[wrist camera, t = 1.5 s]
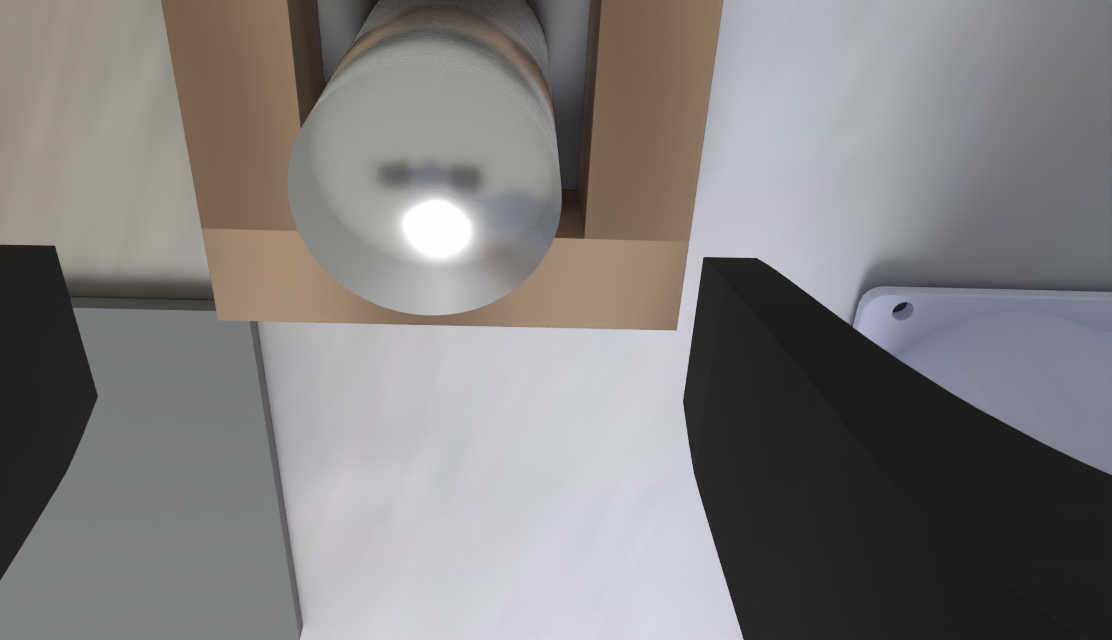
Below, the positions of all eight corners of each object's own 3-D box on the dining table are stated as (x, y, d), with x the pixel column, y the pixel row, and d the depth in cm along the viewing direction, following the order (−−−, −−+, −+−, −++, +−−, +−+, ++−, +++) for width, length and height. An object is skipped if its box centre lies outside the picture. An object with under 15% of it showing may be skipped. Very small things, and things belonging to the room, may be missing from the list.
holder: (720, -192, 17) (749, -186, 15) (661, 275, 22) (676, 330, 20) (173, -223, 16) (122, -221, 14) (247, 265, 21) (218, 320, 19)
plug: (552, -30, 18) (569, 69, 12) (544, 156, 20) (555, 318, 14) (353, -39, 18) (272, 58, 12) (366, 150, 20) (301, 313, 14)
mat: (253, 301, 22) (248, 311, 21) (303, 627, 28) (299, 640, 28) (-260, 289, 21) (-275, 300, 21) (-91, 626, 28) (-101, 639, 27)
